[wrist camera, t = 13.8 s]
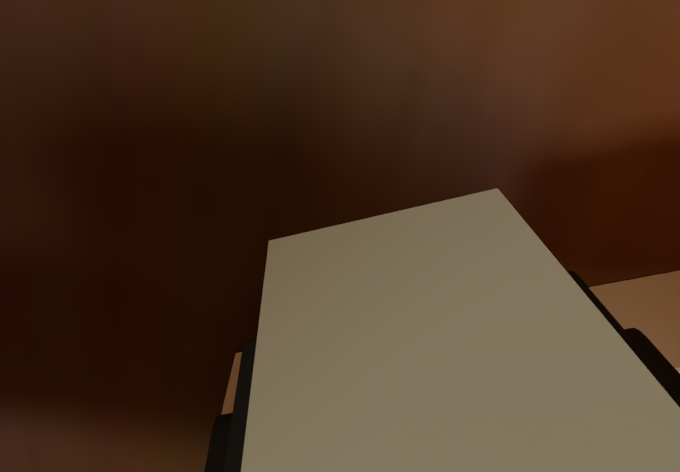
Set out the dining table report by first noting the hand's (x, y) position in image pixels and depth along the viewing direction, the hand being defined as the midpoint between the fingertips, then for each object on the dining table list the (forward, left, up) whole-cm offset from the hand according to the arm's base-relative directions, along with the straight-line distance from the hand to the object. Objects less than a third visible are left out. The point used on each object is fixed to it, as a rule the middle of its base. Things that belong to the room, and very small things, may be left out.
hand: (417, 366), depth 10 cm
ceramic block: (0, 0, -2) cm, 2 cm away
